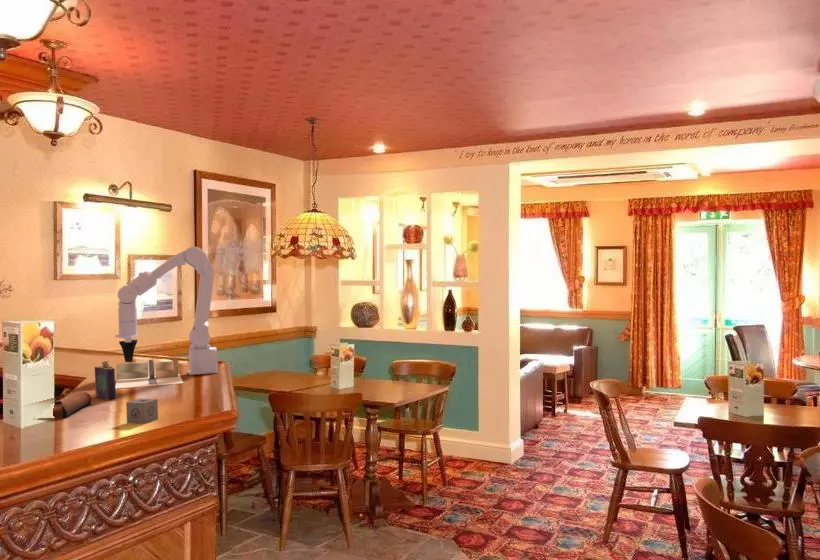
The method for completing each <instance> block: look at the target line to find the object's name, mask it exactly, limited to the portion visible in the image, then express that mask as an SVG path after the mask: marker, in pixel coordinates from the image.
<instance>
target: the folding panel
mask: <svg viewBox="0 0 820 560" xmlns="http://www.w3.org/2000/svg"><path fill="white" fill-rule="evenodd" d="M115 366H116V380H124V379H137V378H148V376H149V361H138V362H124V363H122V362H121V363H116V364H115Z"/></svg>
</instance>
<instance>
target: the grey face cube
mask: <svg viewBox="0 0 820 560" xmlns="http://www.w3.org/2000/svg"><path fill="white" fill-rule="evenodd" d="M125 404H126V423H127V424H135V425H137V424H138V425H139V424H140V425H146V424H149V423H152V422H154V421H157V420H159V408H158V407H159V405H158V398H137V399H133V400H130V401H127V402H125Z"/></svg>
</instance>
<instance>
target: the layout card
mask: <svg viewBox="0 0 820 560" xmlns="http://www.w3.org/2000/svg"><path fill="white" fill-rule="evenodd" d="M180 384H184V381H183V379H182V376H181V374H179V373H178V377H163V378H156V375H155V378H151V379H150V378H149V375H148V378H137V379H124V380H117V379H115V388H116V390H119V389H120V390H121V389H130V388H131V389H132V388H142V387H143V388H144V387H156V386H157V385H158V386H157V387H159V386H169V385H180Z"/></svg>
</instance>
